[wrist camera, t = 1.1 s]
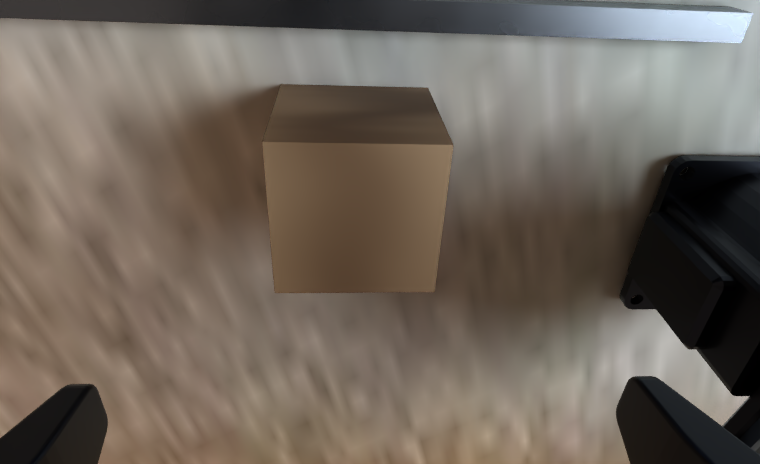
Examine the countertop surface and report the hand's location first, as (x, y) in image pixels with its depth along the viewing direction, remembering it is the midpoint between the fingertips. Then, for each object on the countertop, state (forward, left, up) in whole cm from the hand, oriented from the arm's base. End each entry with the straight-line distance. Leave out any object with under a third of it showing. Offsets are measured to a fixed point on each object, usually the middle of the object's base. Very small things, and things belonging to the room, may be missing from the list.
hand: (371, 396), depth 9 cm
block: (0, 0, -10) cm, 10 cm away
